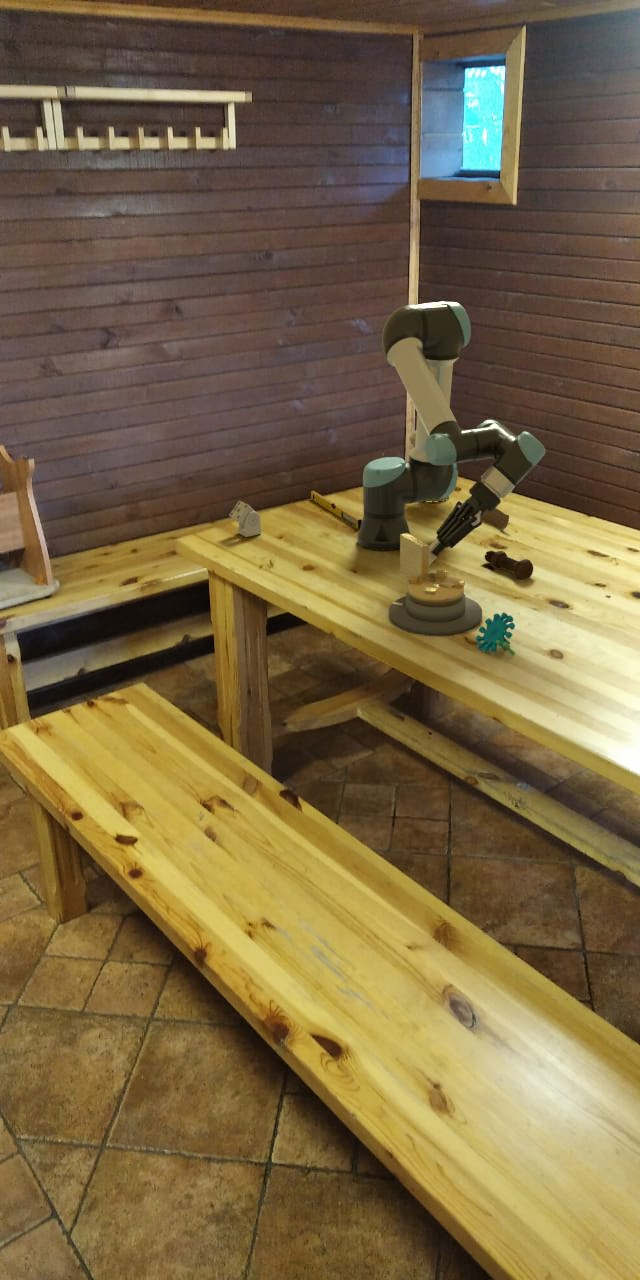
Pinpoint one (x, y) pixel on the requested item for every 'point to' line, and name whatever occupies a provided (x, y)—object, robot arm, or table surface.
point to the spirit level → (336, 509)
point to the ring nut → (427, 576)
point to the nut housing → (435, 617)
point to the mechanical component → (246, 519)
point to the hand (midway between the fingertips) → (422, 562)
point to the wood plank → (496, 518)
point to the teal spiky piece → (496, 633)
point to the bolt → (510, 564)
